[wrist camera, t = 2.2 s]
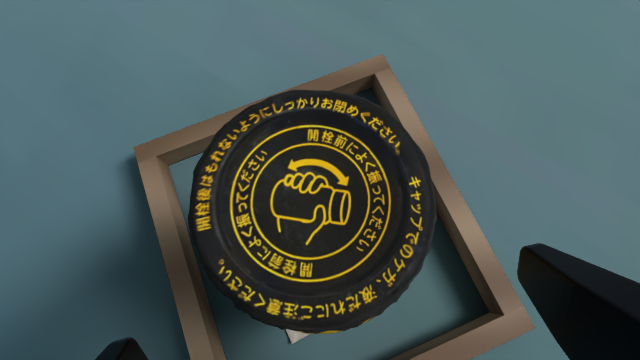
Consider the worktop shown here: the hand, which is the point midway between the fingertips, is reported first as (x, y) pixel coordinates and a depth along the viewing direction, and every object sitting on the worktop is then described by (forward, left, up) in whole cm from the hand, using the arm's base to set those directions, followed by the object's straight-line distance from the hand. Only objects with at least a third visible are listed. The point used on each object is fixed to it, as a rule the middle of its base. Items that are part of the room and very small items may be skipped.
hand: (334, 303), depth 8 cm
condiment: (+3, -1, -10) cm, 11 cm away
